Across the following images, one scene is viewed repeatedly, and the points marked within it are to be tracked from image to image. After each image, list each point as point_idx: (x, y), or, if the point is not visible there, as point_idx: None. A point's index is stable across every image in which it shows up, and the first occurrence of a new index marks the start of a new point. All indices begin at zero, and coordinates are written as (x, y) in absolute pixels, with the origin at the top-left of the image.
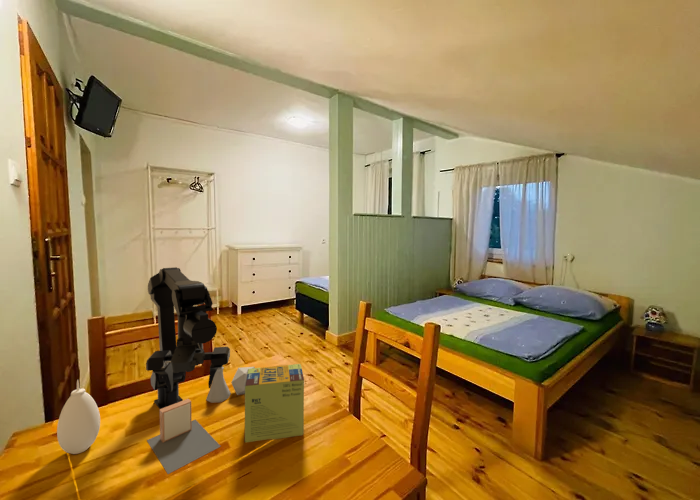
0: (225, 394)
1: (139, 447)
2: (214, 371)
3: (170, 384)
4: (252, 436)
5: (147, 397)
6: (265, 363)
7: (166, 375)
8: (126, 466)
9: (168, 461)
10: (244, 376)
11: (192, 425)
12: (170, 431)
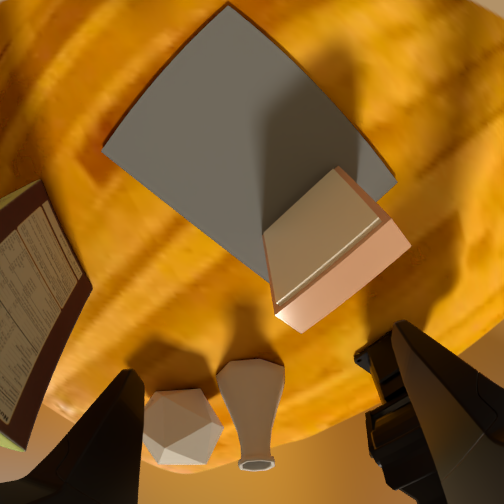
0: (223, 386)
1: (405, 153)
2: (39, 474)
3: (424, 363)
4: (12, 194)
5: None
6: None
7: (495, 424)
8: (400, 65)
9: (261, 61)
10: (163, 438)
11: None
12: (325, 192)
